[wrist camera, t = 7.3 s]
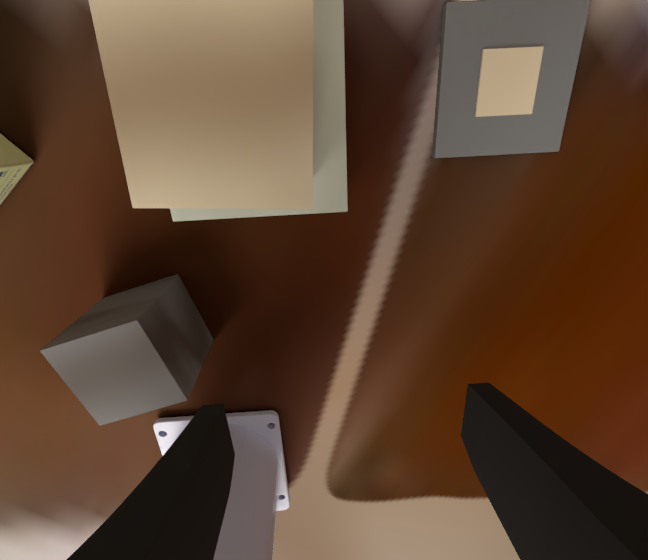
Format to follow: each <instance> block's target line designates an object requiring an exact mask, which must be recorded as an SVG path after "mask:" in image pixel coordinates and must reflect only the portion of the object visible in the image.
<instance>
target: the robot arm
mask: <svg viewBox="0 0 648 560" xmlns="http://www.w3.org/2000/svg"><path fill="white" fill-rule="evenodd" d="M269 423H273V424H269ZM153 429H154V432H155V435H156V438H157V441H158V444H159V447H160V450H161V453H162V457H161V459H160V460H159V461H158V462H157V464H156V465H155V466H154V467H153V468H152V470H151V471H150V472H149V473H148V474H147V476H146V477H145V478H144V479H143V480H142V481H141V482H140V484H139V485H138V486H137V487H136V488H135V489H134V490H133V491H132V493H131V494H130V495H129V496H128V497H127V498H126V499H125V500H124V502H123V503H122V504H121V505H120V506H119V507H118V508H117V509H116V510H115V511H114V513H113V514H112V515H111V516H110V517H109V518H108V519H107V520H106V521H105V522H104V523H103V524H102V525H101V526H100V527H99V528H98V529H97V530H96V531H95V532H94V533H93V534H92V535H91V536H90V537H89V538H88V539H87V540H86V541H85V542H84V543H83V544H82V545H81V546H80V547H79V548H78V549H77V550H76V551H75V552H74V553H73V554H72V555H71V556H70V557H69V558H68V559H67V560H272V554H273V542H274V530H275V517H276V511H277V510H285V509H288V508H289V506H290V498H289V490H288V483H287V475H286V468H285V460H284V453H283V445H282V438H281V430H280V423H279V416H278V413H277V412H275V411H271V410H269V411H254V412H240V413H226V412H225V408H224V404H218V405H206V406H202V407H201V408H200V409H199V411H198V412H197V413H196V414H195V416H183V417H169V418H159V419H157V420H156V421H155V423H154V425H153ZM163 431H165V432H163ZM461 437H462V439H463V442H464V445H465V447H466V450H467V453H468V456H469V458H470V461H471V463H472V466H473V468H474V471H475V473H476V475H477V477H478V479H479V481H480V483H481V485H482V486H483V488H484V490H485V492H486V494H487V496H488V498H489V500H490V502H491V504H492V506H493V508H494V510H495V511H496V514H497V515H498V517H499V519H500V521H501V523H502V525H503V527H504V529H505V531H506V533H507V535H508V536H509V538H510V540H511V542H512V544H513V546H514V548H515V550H516V552H517V554H518V556H519V558H520V559H521V560H648V494H646V493H645V492H643V491H641V490H640V489H638V488H636V487H635V486H633V485H631V484H630V483H628V482H627V481H625V480H623V479H622V478H620V477H619V476H617V475H616V474H614V473H612V472H611V471H609V470H608V469H606V468H605V467H603V466H602V465H600V464H599V463H597V462H596V461H594V460H593V459H591V458H590V457H588V456H587V455H586V454H584V453H583V452H581V451H580V450H578V449H577V448H575V447H574V446H573V445H571V444H570V443H568V442H567V441H565V440H564V439H563V438H561V437H560V436H559V435H557V434H556V433H554V432H553V431H552V430H550V429H549V428H548V427H546V426H545V425H544V424H542V423H541V422H540V421H538V420H537V419H536V418H534V417H533V416H532V415H530V414H529V413H528V412H526V411H525V410H524V409H522V408H521V407H520V406H519V405H517V404H516V403H515V402H513V401H512V400H511V399H509V398H508V397H507V396H506V395H504V394H503V393H502V392H500V391H499V390H498V389H496V388H495V387H494V386H492V385H491V384H490V383H478V384H468V387H467V395H466V402H465V410H464V417H463V425H462V433H461Z"/></svg>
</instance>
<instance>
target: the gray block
mask: <svg viewBox="0 0 648 560" xmlns="http://www.w3.org/2000/svg"><path fill="white" fill-rule="evenodd" d="M213 341H214V339H213V338H212V336H211V334H210V332H209V330H208V328H207V326H206V325H205V323H204V321H203V319H202V317H201V315H200V313H199V312H198V310H197V308H196V306H195V304H194V302H193V300H192V298H191V297H190V295H189V293H188V291H187V289H186V287H185V285H184V284H183V282H182V280H181V278H180V276H179V274H176V275H173V276H169V277H166V278H163V279H160V280H157V281H154V282H151V283H148V284H145V285H142V286H139V287H135V288H132V289H129V290H126V291H123V292H120V293H117V294H114V295H111V296H108V297H105V298H103V299H101V300H100V301H99V302H98V303H97V304H95V305H94V306H93V307H92V308H91V309H89V310H88V311H87V312H86V313H85V314H83V315H82V316H81V317H80V318H79V319H77V320H76V321H75V322H74V323H73V324H71V325H70V326H69V327H68V328H67V329H65V330H64V331H63V332H62V333H61V334H59V335H58V336H57V337H56V338H55V339H53V340H52V341H51V342H50V343H49V344H47V345H46V346H45V347H44V348H43V349H41V350H40V352H41V353H42V354H43V355H44V357H45V358H46V359H47V360H48V362H49V363H50V364H51V365H52V367H53V368H54V369H55V370H56V372H57V373H58V374H59V375H60V377H61V378H62V379H63V380H64V382H65V383H66V384H67V385H68V387H69V388H70V389H71V390H72V392H73V393H74V394H75V395H76V397H77V398H78V399H79V400H80V402H81V403H82V404H83V405H84V407H85V408H86V409H87V410H88V412H89V413H90V414H91V415H92V417H93V418H94V419H95V420H96V422H97V423H98V424H99V425H100V426H101V425H104V424H108V423H111V422H115V421H118V420H121V419H125V418H128V417H132V416H135V415H139V414H142V413H146V412H149V411H153V410H156V409H159V408H163V407H166V406H170V405H173V404H177V403H180V402H184V401H187V400H188V398H189V396H190V394H191V391H192V389H193V387H194V384H195V382H196V380H197V378H198V375H199V373H200V371H201V368H202V366H203V364H204V362H205V359H206V357H207V355H208V353H209V350H210V348H211V346H212V343H213Z"/></svg>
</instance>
